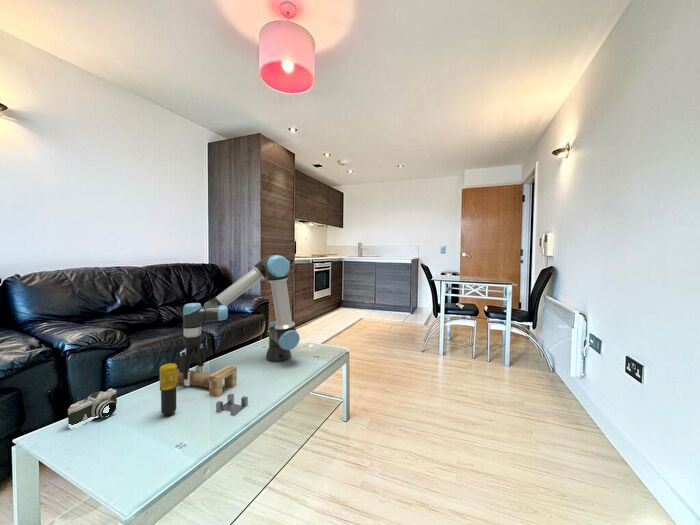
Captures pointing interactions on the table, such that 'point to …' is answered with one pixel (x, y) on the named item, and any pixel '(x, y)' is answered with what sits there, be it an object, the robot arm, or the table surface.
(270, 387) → the table surface
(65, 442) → the table surface
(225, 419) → the table surface
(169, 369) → the microphone
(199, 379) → the axle
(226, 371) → the wooden arch block
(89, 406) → the camera
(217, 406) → the grey h-shaped block
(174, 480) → the table surface
